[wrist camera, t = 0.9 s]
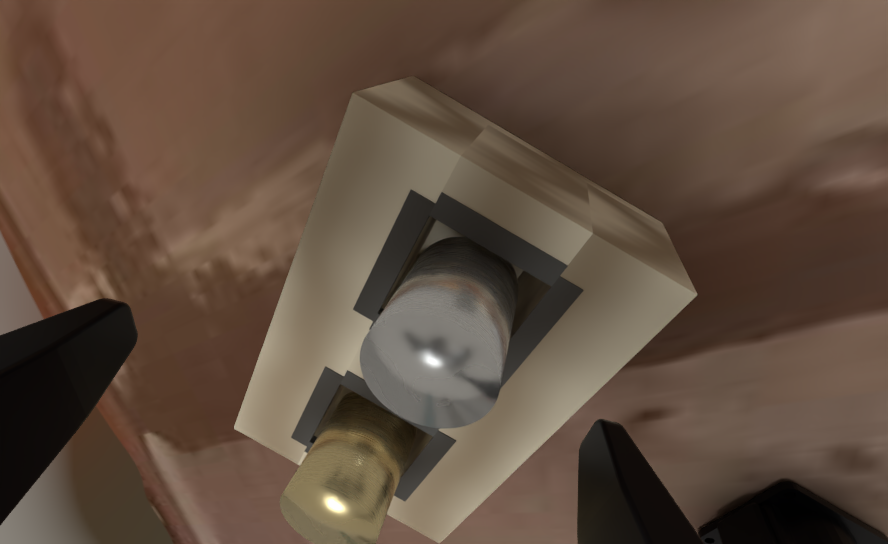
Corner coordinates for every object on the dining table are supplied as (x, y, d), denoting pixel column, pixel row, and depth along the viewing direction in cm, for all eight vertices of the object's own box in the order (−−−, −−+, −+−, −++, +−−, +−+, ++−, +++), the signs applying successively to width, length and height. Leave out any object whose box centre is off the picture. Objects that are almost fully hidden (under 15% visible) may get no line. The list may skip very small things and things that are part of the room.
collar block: (662, 222, 19) (697, 295, 13) (463, 449, 28) (439, 544, 23) (413, 75, 18) (352, 92, 13) (296, 354, 28) (233, 429, 22)
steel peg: (540, 274, 16) (529, 365, 11) (484, 347, 18) (457, 449, 13) (441, 216, 15) (392, 286, 11) (396, 297, 18) (341, 383, 13)
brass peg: (430, 419, 20) (393, 522, 16) (396, 464, 22) (356, 566, 18) (354, 375, 20) (295, 468, 16) (326, 424, 22) (269, 518, 18)
